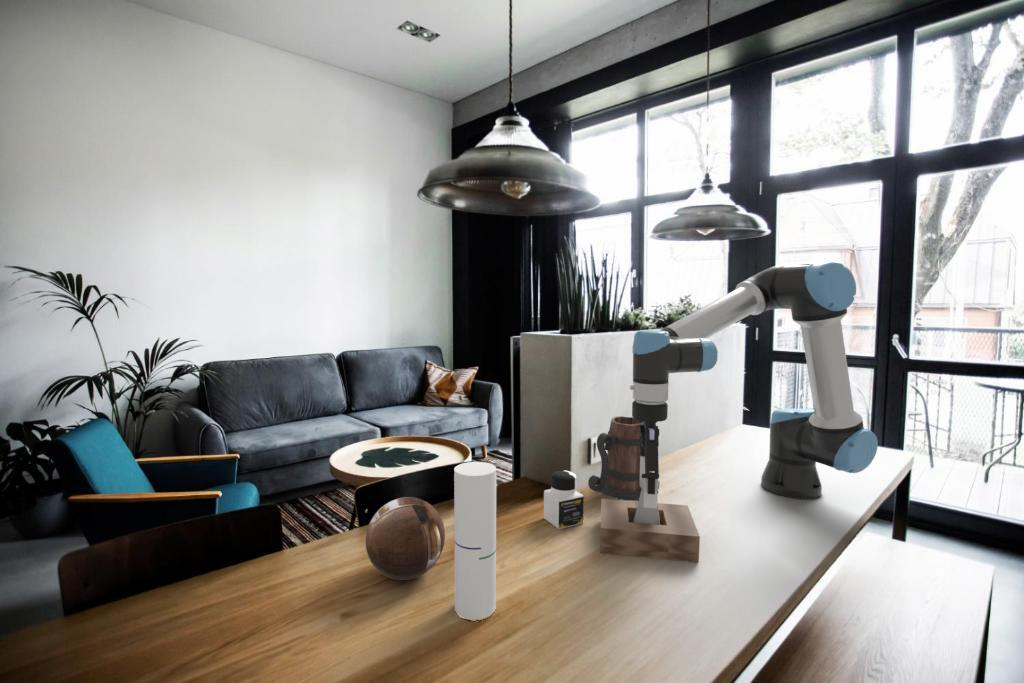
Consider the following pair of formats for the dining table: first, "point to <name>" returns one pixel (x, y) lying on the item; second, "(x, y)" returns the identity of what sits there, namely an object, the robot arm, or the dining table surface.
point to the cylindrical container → (475, 539)
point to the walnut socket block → (648, 532)
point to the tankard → (619, 460)
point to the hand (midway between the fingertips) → (647, 495)
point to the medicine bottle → (563, 501)
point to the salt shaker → (646, 510)
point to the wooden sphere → (405, 538)
